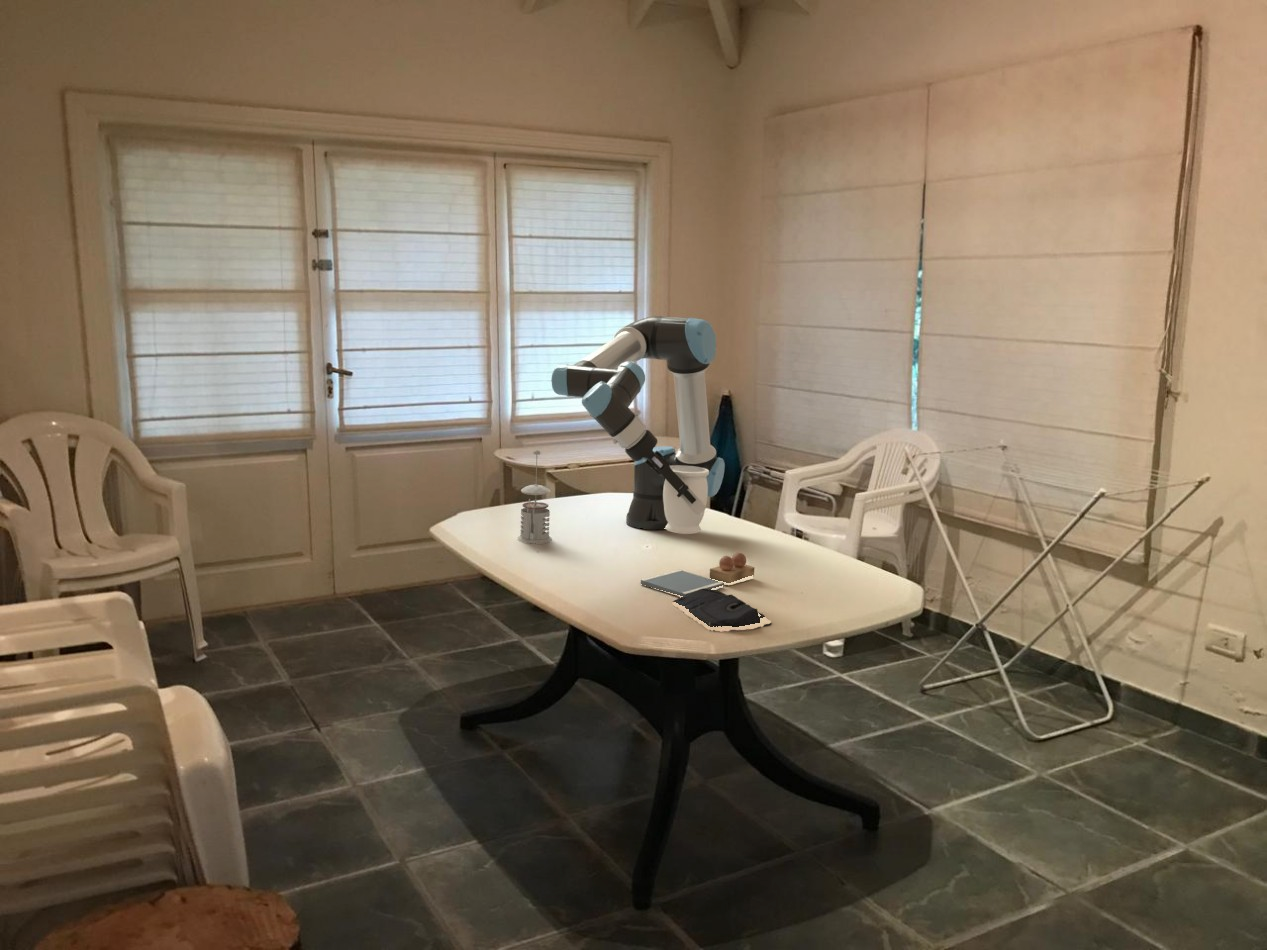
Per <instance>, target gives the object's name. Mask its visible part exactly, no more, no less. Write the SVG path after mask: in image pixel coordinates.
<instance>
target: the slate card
mask: <svg viewBox="0 0 1267 950" xmlns="http://www.w3.org/2000/svg"><path fill="white" fill-rule="evenodd" d="M641 584H642V585H641ZM640 585H641V586H643V585H646V586H649V587H652V588H656V589H659V590H663V591H666V592H670V593H673V594H677V595H680V596H687V595H689V594H690V593H692V592H694V591H697V590H699V589H703V588H706V589H712V588H716V587H719V586H722V585H724V583H723V582H718V581H715V580H712V579H710V578H707V577H704V576H702V575H698V574H695V573H692V572H688V571H684V570H682V569H677V570H672V571H669V572H665V573H664V572H663V573H661V574H658V575H653V576H649V577H647V578H646V577H645V578H641V580H640ZM646 586H645V587H646ZM724 586H725V585H724ZM649 587H648V588H649ZM652 588H651V589H652Z"/></svg>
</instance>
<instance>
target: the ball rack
mask: <svg viewBox="0 0 1267 950" xmlns="http://www.w3.org/2000/svg"><path fill="white" fill-rule="evenodd" d="M718 565H719V566H716V567H712V568H710V569H709V579H710V578H711V579H715V580H718V581H723V582H726V583H731V582H734V581H737V580H740V579H742V578H745V577H748V576H752V575H754V576H755V566H752V565H748V564H747V556H746V555H745V554H744V553H742V552H736V553H734V554H733V555H732V556H729V555H724V556H722V557H721V558H720V559H719V561H718Z"/></svg>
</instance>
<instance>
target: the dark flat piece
mask: <svg viewBox="0 0 1267 950" xmlns="http://www.w3.org/2000/svg"><path fill="white" fill-rule="evenodd" d="M672 602H676V603H678V604H679V605H682V606H685V608H686V609H689V612H690V613H692V614H693V615H694V616H695V617H697V618H698V619H699V620H701V621H703V622H704V623H706V624H707V625H708V626H710V627H713V626H714V627H716V626H717V627H718V626H721V627H722V626H732V627H739V626H745V625H750V624H755V623H760V618H763V617H765V615H764V614H763V613H761V612H759V611H758V608H755V607H752V606H751V605H750V604H746V602H744V601H743V600H742V599H739V598H738V597H737V596H735V595H733V594H726V593H724V592H722V591H720V590H719V589H718V590H711V589H706V588H703V589H699V590H697V591H694V592H692V593H690V594H689V595H687V596H683V597H681V598H680V597H677V599H675V600H673V601H672ZM758 613H759V614H760V615H761V616H760V617H759V616H758Z"/></svg>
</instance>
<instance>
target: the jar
mask: <svg viewBox="0 0 1267 950" xmlns="http://www.w3.org/2000/svg"><path fill="white" fill-rule="evenodd" d="M670 468H671V469H672V470H673V472H674V473H675V474H676V475H677V476H678V477H679V478H680V479H681V480H682V481H683V482H684V483H685V484H686V485H687V486H688V487H689V488H690V490H691V491H692V492H693V493H694V494H695V495H696V496H697V497H698V498H699V499H700V500H701V502H702V503H703V504H704V505H705V506H706V507H707V501H708V498H709V497H708V484H707V479H706V476H708V474H709V470H708V469H705V468H701V467H695V466H684V465H676V466H670ZM682 487H683V486H682ZM682 487H681V488H682ZM679 489H680V488H679ZM677 495H678V492H677V491H676V490H675V489H674V488H673V486H672V485H671V484H670V483H669V482H668V481H667V480H666V479H665V482H664V488H663V502H664V512H665V517H666V519H667V521H668V524H667V525H666V527H665V528H666V529H665V530H666V531H668V532H671V533H674V534H681V535H693V534H699V533H700V532H701V530H702V528H701V526H700V524H701V523H702V520H703V519H704V516H705V510H706V509H705V510H704V511H703V512H701V513H700V514H699V515H698V514H697V513H696V512H695V511H694V510H693V509H692V508H691V507H690V506H689V505H688V504H687V503H686V501H685V500H684V499H683V498H682V497H681V496H680V497H679V498H678V496H677Z"/></svg>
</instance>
